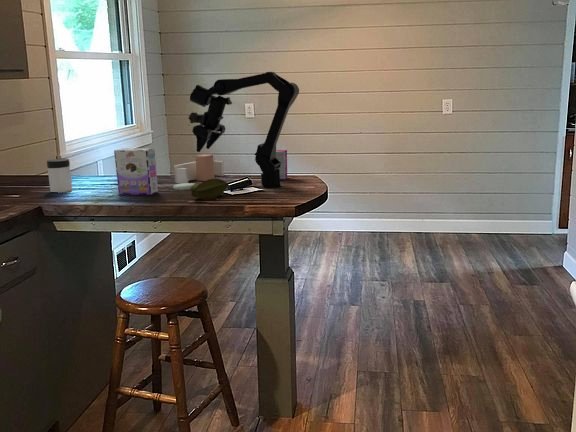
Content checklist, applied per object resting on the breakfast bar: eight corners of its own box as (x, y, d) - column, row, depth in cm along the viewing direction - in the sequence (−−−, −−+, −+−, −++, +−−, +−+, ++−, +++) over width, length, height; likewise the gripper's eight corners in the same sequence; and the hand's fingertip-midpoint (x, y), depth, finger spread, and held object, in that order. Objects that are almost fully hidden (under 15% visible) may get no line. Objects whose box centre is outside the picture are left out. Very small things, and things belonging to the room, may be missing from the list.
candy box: (159, 192, 231) (155, 147, 228) (150, 195, 226) (146, 149, 222) (126, 191, 236) (122, 147, 232) (117, 194, 230) (113, 149, 227)
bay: (224, 175, 264) (223, 159, 262) (186, 184, 246) (184, 166, 245) (213, 174, 267) (212, 158, 266) (175, 182, 250) (173, 165, 248)
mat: (197, 185, 243) (197, 182, 243) (197, 189, 235) (197, 186, 234) (173, 186, 242) (173, 183, 242) (173, 190, 234) (172, 187, 233)
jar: (73, 191, 239) (69, 160, 236) (50, 193, 236) (46, 162, 234) (72, 188, 247) (68, 157, 245) (50, 190, 245) (46, 159, 242)
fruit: (195, 195, 223) (194, 177, 222) (228, 194, 222) (227, 176, 221) (189, 202, 212) (187, 182, 210) (224, 201, 211) (223, 181, 210)
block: (214, 179, 255) (213, 154, 253) (206, 181, 252) (204, 156, 249) (205, 178, 258) (204, 154, 256) (197, 180, 255) (195, 155, 252)
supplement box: (285, 180, 247) (284, 151, 244) (270, 180, 248) (269, 151, 245) (288, 177, 252) (287, 149, 250) (273, 177, 253) (272, 149, 251)
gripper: (205, 102, 244) (194, 139, 249) (186, 105, 227) (173, 145, 231) (231, 113, 242) (218, 150, 247) (213, 116, 225) (200, 156, 230)
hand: (202, 150), depth 239 cm, fingers open, 9 cm apart
